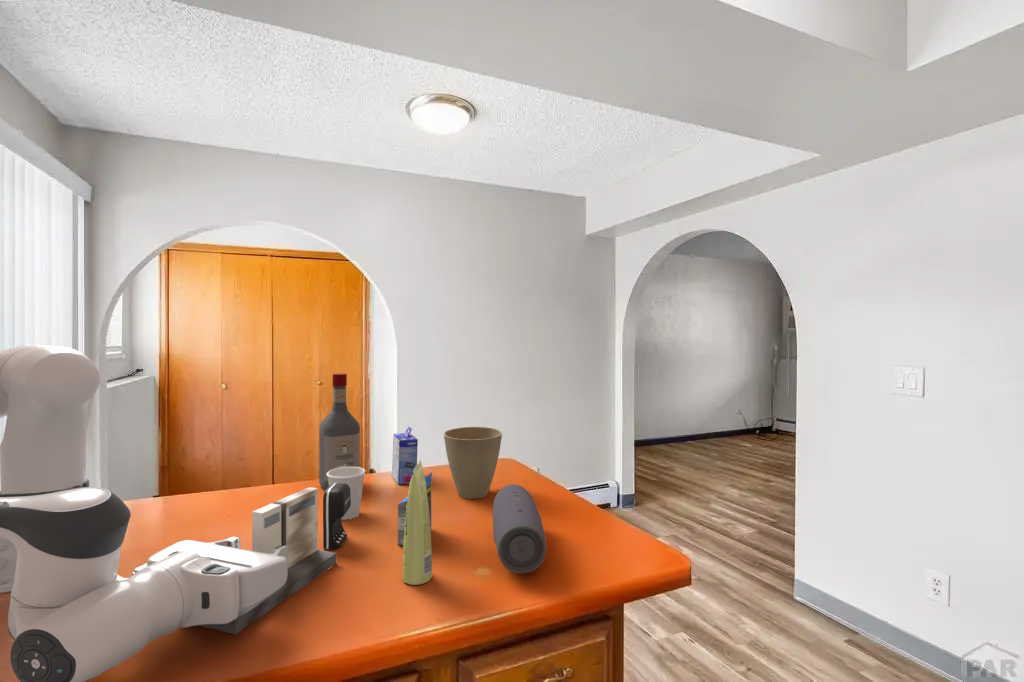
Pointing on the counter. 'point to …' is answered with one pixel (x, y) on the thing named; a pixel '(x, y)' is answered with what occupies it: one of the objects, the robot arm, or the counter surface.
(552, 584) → the counter surface
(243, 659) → the counter surface
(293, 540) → the ticket holder
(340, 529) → the battery charger
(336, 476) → the dixie cup
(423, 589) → the counter surface
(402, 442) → the ink cartridge box
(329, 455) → the liquor
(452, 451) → the plant pot
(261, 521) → the white tall block
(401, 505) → the label tape cartridge
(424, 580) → the tube
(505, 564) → the bluetooth speaker
